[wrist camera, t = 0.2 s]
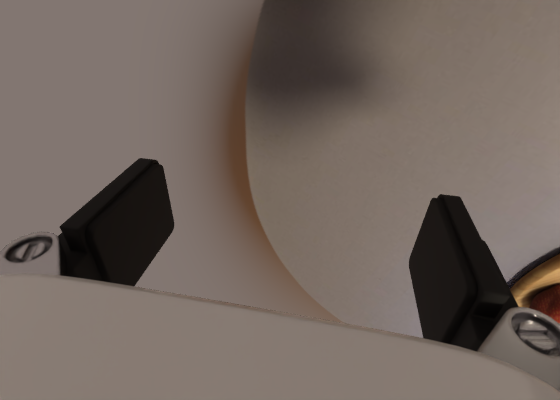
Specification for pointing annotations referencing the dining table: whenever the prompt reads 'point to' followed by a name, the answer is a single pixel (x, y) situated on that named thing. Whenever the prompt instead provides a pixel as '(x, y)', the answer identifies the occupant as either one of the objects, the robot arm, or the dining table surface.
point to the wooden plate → (541, 289)
